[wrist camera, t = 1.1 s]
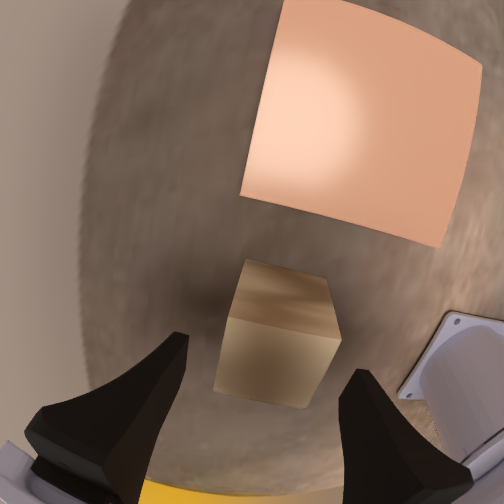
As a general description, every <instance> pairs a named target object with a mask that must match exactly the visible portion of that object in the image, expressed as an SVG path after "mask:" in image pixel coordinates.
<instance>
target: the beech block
mask: <svg viewBox="0 0 504 504" xmlns="http://www.w3.org/2000/svg"><path fill="white" fill-rule="evenodd" d="M341 341H342V339H341V335H340V331H339V326H338V322H337V318H336V314H335V310H334V306H333V302H332V298H331V294H330V290H329V286H328V282H327V279H326V277H322V276H317V275H313V274H309V273H304V272H300V271H296V270H291V269H287V268H283V267H278V266H274V265H270V264H266V263H261V262H257V261H253V260H249V259H245V262H244V265H243V269H242V272H241V275H240V279H239V282H238V285H237V288H236V292H235V295H234V298H233V302H232V305H231V308H230V311H229V315H228V319H227V324H226V328H225V333H224V338H223V343H222V348H221V353H220V358H219V363H218V368H217V372H216V377H215V382H214V387H213V391H215V392H219V393H223V394H227V395H231V396H236V397H241V398H245V399H250V400H255V401H260V402H266V403H271V404H277V405H283V406H289V407H296V408H303V409H306V408H307V406H308V404H309V402H310V401H311V399H312V397H313V395H314V393H315V392H316V390H317V388H318V386H319V384H320V382H321V380H322V378H323V377H324V375H325V373H326V371H327V369H328V367H329V365H330V363H331V361H332V359H333V357H334V355H335V353H336V351H337V349H338V347H339V345H340V343H341Z"/></svg>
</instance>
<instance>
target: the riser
mask: <svg viewBox="0 0 504 504" xmlns="http://www.w3.org/2000/svg"><path fill="white" fill-rule="evenodd" d="M481 76H482V64H480V63H478V62H477V61H475V60H474V59H472V58H471V57H469V56H467V55H466V54H464V53H462V52H461V51H459V50H457V49H456V48H454V47H452V46H450V45H448V44H447V43H445V42H443V41H441V40H439V39H437V38H435V37H433V36H431V35H429V34H427V33H425V32H423V31H421V30H419V29H417V28H415V27H413V26H410V25H408V24H406V23H403V22H401V21H399V20H396V19H394V18H391V17H389V16H386V15H384V14H381V13H378V12H376V11H373V10H370V9H367V8H364V7H361V6H358V5H355V4H352V3H348V2H345V1H342V0H284V4H283V8H282V12H281V16H280V20H279V24H278V28H277V32H276V36H275V40H274V44H273V49H272V53H271V57H270V61H269V65H268V70H267V74H266V78H265V83H264V87H263V91H262V96H261V100H260V105H259V109H258V114H257V118H256V123H255V127H254V132H253V136H252V141H251V145H250V150H249V155H248V159H247V164H246V169H245V174H244V178H243V183H242V188H241V193H240V195H241V196H245V197H249V198H254V199H258V200H263V201H267V202H271V203H276V204H280V205H284V206H288V207H292V208H296V209H300V210H304V211H308V212H312V213H316V214H320V215H324V216H328V217H332V218H335V219H339V220H343V221H346V222H350V223H354V224H357V225H361V226H365V227H368V228H372V229H375V230H379V231H382V232H386V233H389V234H392V235H396V236H399V237H402V238H406V239H409V240H412V241H416V242H419V243H422V244H425V245H428V246H432V247H435V248H438V249H440V247H441V244H442V241H443V239H444V236H445V233H446V230H447V228H448V225H449V222H450V219H451V216H452V213H453V210H454V207H455V204H456V200H457V197H458V194H459V190H460V187H461V183H462V180H463V176H464V172H465V168H466V164H467V160H468V156H469V152H470V147H471V142H472V137H473V132H474V127H475V121H476V115H477V109H478V102H479V95H480V86H481Z"/></svg>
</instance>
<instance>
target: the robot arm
mask: <svg viewBox="0 0 504 504" xmlns="http://www.w3.org/2000/svg"><path fill="white" fill-rule="evenodd" d="M456 319H457V320H456ZM455 320H456V321H455ZM454 321H455V322H454ZM188 342H189V335H186V334H182V333H179V332H173V333H172V334H171V335H170V336H169V337H168V338H167V339H166V340H165V341H164V342H163V343H162V344H161V345H159V346H158V347H157V348H156V349H155V350H154V351H153V352H152V353H150V354H149V355H148V356H147V357H146V358H144V359H143V360H142V361H141V362H139V363H138V364H137V365H135V366H134V367H132V368H131V369H130V370H128V371H127V372H125V373H124V374H122V375H121V376H119V377H118V378H116V379H114V380H113V381H111V382H109V383H107V384H105V385H103V386H101V387H99V388H97V389H95V390H93V391H91V392H89V393H86V394H84V395H81V396H78V397H76V398H73V399H70V400H67V401H64V402H60V403H56V404H52V405H48V406H44V407H42V408H41V409H40V410H39V411H38V412H37V413H36V414H35V416H34V417H33V419H32V420H31V421H30V423H29V424H28V426H27V427H26V429H25V430H24V433H25V437H26V438H27V440H28V442H29V443H30V444H31V446H32V447H33V448H34V450H35V451H36V452H37V454H38V457H37V458H36V460H34V459H33V458H32V457H31V456H30V455H28V454H27V453H25V452H24V451H23V450H21V449H20V448H18V447H17V446H15V445H14V444H13V443H11V442H10V441H7V440H6V441H5V443H4V445H3V446H2V448H1V449H0V499H1V500H2V501H3V502H4V503H6V504H138V501H139V497H140V494H141V490H142V486H143V482H144V479H145V475H146V472H147V468H148V465H149V462H150V458H151V455H152V452H153V449H154V446H155V443H156V440H157V437H158V434H159V432H160V429H161V427H162V425H163V423H164V421H165V418H166V416H167V414H168V412H169V410H170V408H171V406H172V403H173V401H174V399H175V397H176V395H177V393H178V390H179V388H180V385H181V382H182V379H183V376H184V373H185V369H186V360H187V351H188ZM397 395H398V398H399V399H413V400H426V403H427V406H428V408H429V411H430V413H431V416H432V419H433V421H434V424H435V427H436V430H437V433H438V435H439V438H440V441H441V444H442V447H443V450H444V453H445V454H443V453H442V452H441V451H440V450H438V449H437V448H436V447H434V446H433V445H432V444H431V443H430V442H428V441H427V440H426V439H425V438H424V437H423V436H422V435H421V434H420V433H419V432H418V431H417V430H416V429H415V428H414V427H413V426H412V425H411V424H410V423H409V422H408V421H407V420H406V418H405V417H404V416H403V415H402V414H401V413H400V411H399V410H398V409H397V408H396V406H395V405H394V404H393V402H392V401H391V400H390V398H389V397H388V396H387V394H386V393H385V391H384V390H383V389H382V387H381V386H380V384H379V383H378V382H377V380H376V379H375V378H374V376H373V375H372V374H371V372H370V371H369V370H364V369H356V370H355V372H354V374H353V375H352V377H351V379H350V380H349V382H348V384H347V385H346V387H345V389H344V390H343V392H342V394H341V395H340V397H339V408H338V411H339V425H340V433H341V441H342V448H343V456H344V492H343V503H342V504H504V322H503V321H498V320H493V319H488V318H483V317H478V316H473V315H468V314H463V313H458V312H449V313H448V314H446V316H445V317H444V319H443V321H442V323H441V325H440V327H439V328H438V330H437V332H436V334H435V335H434V337H433V339H432V341H431V342H430V344H429V346H428V347H427V349H426V351H425V352H424V354H423V355H422V357H421V359H420V360H419V362H418V363H417V365H416V366H415V368H414V369H413V371H412V372H411V374H410V375H409V377H408V378H407V380H406V381H405V383H404V384H403V386H402V387H401V388H400V390H399V391H398V393H397Z"/></svg>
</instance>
